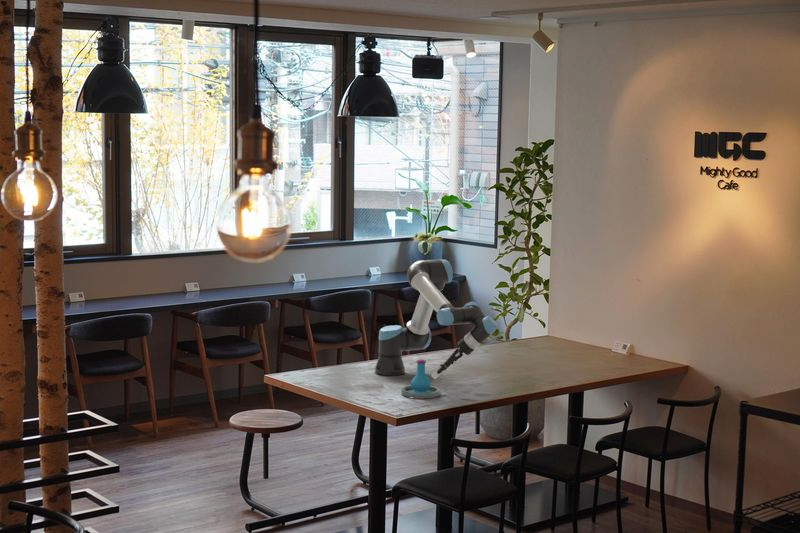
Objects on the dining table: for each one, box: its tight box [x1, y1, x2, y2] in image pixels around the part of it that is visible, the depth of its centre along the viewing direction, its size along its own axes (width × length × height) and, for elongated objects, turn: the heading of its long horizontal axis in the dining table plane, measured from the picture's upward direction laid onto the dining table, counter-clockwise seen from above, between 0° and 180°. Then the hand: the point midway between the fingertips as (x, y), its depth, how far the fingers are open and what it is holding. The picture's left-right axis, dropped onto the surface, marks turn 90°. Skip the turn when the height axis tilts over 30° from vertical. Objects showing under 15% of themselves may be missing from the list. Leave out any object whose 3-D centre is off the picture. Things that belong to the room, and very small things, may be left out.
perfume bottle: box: [410, 359, 432, 393], centre depth 474 cm, size 9×9×15 cm
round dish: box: [400, 385, 441, 399], centre depth 475 cm, size 17×17×2 cm
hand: (435, 374), depth 472 cm, fingers open, 13 cm apart
